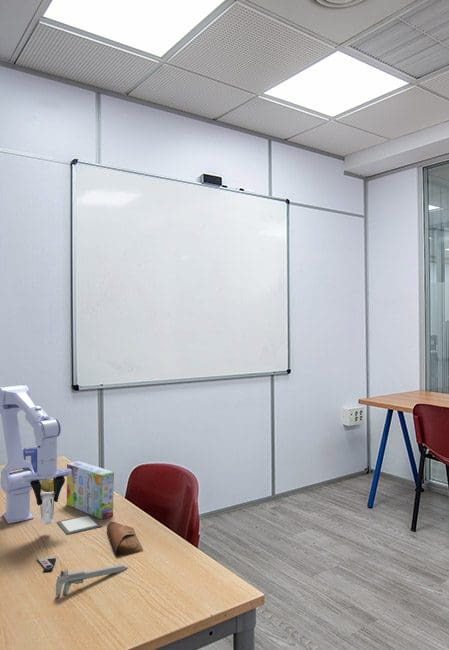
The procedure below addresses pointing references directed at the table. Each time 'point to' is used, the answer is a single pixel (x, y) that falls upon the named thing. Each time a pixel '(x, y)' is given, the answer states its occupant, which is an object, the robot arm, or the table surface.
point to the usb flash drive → (48, 563)
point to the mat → (78, 524)
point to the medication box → (47, 484)
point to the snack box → (90, 489)
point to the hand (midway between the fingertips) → (47, 502)
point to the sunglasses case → (123, 539)
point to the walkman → (31, 457)
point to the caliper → (82, 577)
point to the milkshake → (47, 507)
